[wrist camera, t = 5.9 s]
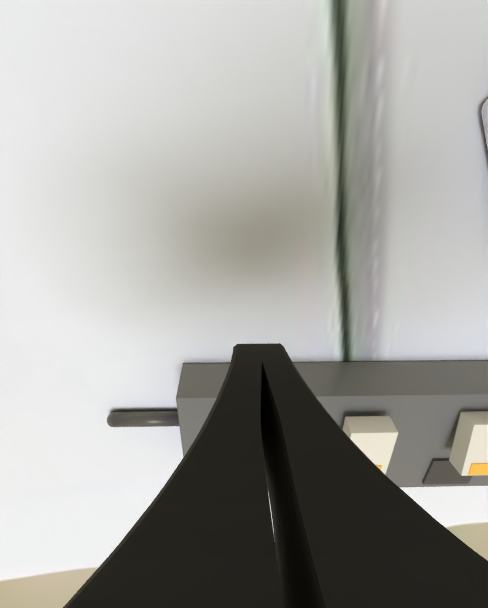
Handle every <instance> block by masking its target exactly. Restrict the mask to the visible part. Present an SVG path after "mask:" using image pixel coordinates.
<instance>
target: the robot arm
mask: <svg viewBox="0 0 488 608" xmlns="http://www.w3.org/2000/svg"><path fill="white" fill-rule="evenodd" d="M481 115H482V120H483V126H484V131H485V137H486V143H487V148H488V99H487V100H486V101H485V103H484V104H483V107H482V111H481ZM266 479H267V480H266ZM267 486H268V488H267ZM268 492H269V496H268ZM269 498H270V504H271V511H272V519H273V527H272V519H271V512H270V505H269ZM273 528H274V534H273ZM274 540H275V542H274ZM63 608H488V561H487V560H486V559H484V558H483V557H482V556H480V555H479V554H478V553H476V552H475V551H473V550H472V549H471V548H470V547H468V546H467V545H466V544H465V543H463V542H462V541H461V540H460V539H458V538H457V537H456V536H455V535H454V534H452V533H451V532H450V531H449V530H447V529H446V528H445V527H444V526H443V525H441V524H440V523H439V522H438V521H436V520H435V519H434V518H433V517H432V516H431V515H430V514H428V513H427V512H426V511H425V510H424V509H423V508H422V507H421V506H419V505H418V504H417V503H416V502H415V501H414V500H413V499H412V498H410V497H409V496H408V495H407V494H406V493H405V492H404V491H403V490H401V489H400V488H399V487H398V486H397V485H396V484H395V483H394V482H392V481H391V480H390V479H389V478H388V477H387V476H386V475H385V474H384V473H383V472H382V471H381V470H380V469H379V468H378V467H377V466H376V465H375V464H374V463H373V462H372V461H371V460H370V459H369V458H368V457H367V456H366V455H365V454H364V453H363V452H362V451H361V450H360V449H359V448H358V446H357V445H356V444H355V443H354V442H353V441H352V440H351V439H350V438H349V437H348V436H347V434H346V433H345V432H344V431H343V430H342V429H341V428H340V426H339V425H338V424H337V423H336V422H335V420H334V419H333V418H332V417H331V416H330V414H329V413H328V412H327V411H326V409H325V408H324V407H323V406H322V404H321V403H320V402H319V400H318V399H317V398H316V396H315V395H314V393H313V392H312V391H311V389H310V388H309V387H308V385H307V384H306V382H305V381H304V379H303V378H302V377H301V375H300V373H299V372H298V370H297V369H296V367H295V366H294V364H293V362H292V361H291V359H290V357H289V356H288V354H287V352H286V350H285V348H284V347H283V346H282V345H281V344H237V345H236V346H234V347H233V355H232V359H231V363H230V366H229V369H228V372H227V375H226V377H225V380H224V382H223V385H222V387H221V389H220V392H219V394H218V396H217V399H216V401H215V403H214V405H213V407H212V409H211V411H210V412H209V414H208V416H207V418H206V420H205V422H204V424H203V426H202V428H201V430H200V431H199V433H198V435H197V437H196V438H195V440H194V442H193V443H192V445H191V447H190V448H189V450H188V451H187V453H186V455H185V456H184V458H183V459H182V461H181V462H180V464H179V465H178V467H177V468H176V470H175V471H174V473H173V474H172V475H171V477H170V478H169V480H168V481H167V483H166V484H165V486H164V487H163V488H162V490H161V491H160V493H159V494H158V495H157V497H156V498H155V499H154V501H153V502H152V503H151V505H150V506H149V507H148V508H147V510H146V511H145V512H144V513H143V515H142V516H141V517H140V518H139V520H138V521H137V522H136V523H135V525H134V526H133V527H132V529H131V530H130V531H129V532H128V534H127V535H126V536H125V537H124V539H123V540H122V541H121V542H120V544H119V545H118V546H117V547H116V548H115V549H114V551H113V552H112V553H111V554H110V555H109V557H108V558H107V559H106V560H105V561H104V562H103V563H102V564H101V566H100V567H99V568H98V569H97V570H96V571H95V572H94V573H93V575H92V576H91V577H90V578H89V579H88V580H87V581H86V583H85V584H84V585H83V586H82V587H81V588H80V589H79V590H78V591H77V593H76V594H75V595H74V596H73V597H72V598H71V600H69V602H68V603H67V604H66V605H65V606H64V607H63Z"/></svg>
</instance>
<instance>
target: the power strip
mask: <svg viewBox="0 0 488 608" xmlns="http://www.w3.org/2000/svg"><path fill="white" fill-rule="evenodd" d="M293 364H294V366H295V367H296V369H297V370H298V372H299V373H300V375H301V377H302V378H303V379H304V381H305V382H306V384H307V385H308V387H309V388H310V389H311V391H312V392H313V393H314V395H315V396H316V398H317V399H318V400H319V402H320V403H321V404H322V406H323V407H324V408H325V409H326V411H327V412H328V413H329V414H330V416H331V417H332V418H333V419H334V420H335V422H336V423H337V424H338V425H339V426H340V428H341V429H342V430H343V425H344V420H345V417H352V416H390V418H391V419H392V421H393V423H394V425H395V427H396V429H397V431H398V436H397V439H396V442H395V445H394V449H393V452H392V455H391V458H390V461H389V465H388V468H387V471H386V474H385V475H386V476H387V477H388V478H389V479H390V480H391V481H392V482H394V483H395V484H396V485H397V486H398V487H436V486H486V485H488V475H473V476H461V475H460V474H459V472H458V471H457V470H456V469H455V467H454V466H453V465H452V464H451V462H450V461H449V459H450V454H451V450H452V446H453V442H454V438H455V434H456V429H457V425H458V421H459V417H460V413H461V412H471V411H488V360H473V361H375V362H293ZM229 366H230V363H183V366H182V371H181V376H180V381H179V386H178V391H177V396H176V402H177V409H178V411H137V412H112V413H111V414H109V416H108V417H107V423H108V425H109V426H111V427H152V426H180V433H181V441H182V448H183V456H185V455H186V453H187V451H188V450H189V448H190V447H191V445H192V443H193V442H194V440H195V438H196V437H197V435H198V433H199V431H200V430H201V428H202V426H203V424H204V422H205V420H206V418H207V416H208V414H209V412H210V411H211V409H212V407H213V405H214V403H215V401H216V399H217V396H218V394H219V392H220V389H221V387H222V385H223V382H224V380H225V377H226V375H227V372H228V369H229ZM267 488H268V486H267Z"/></svg>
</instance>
